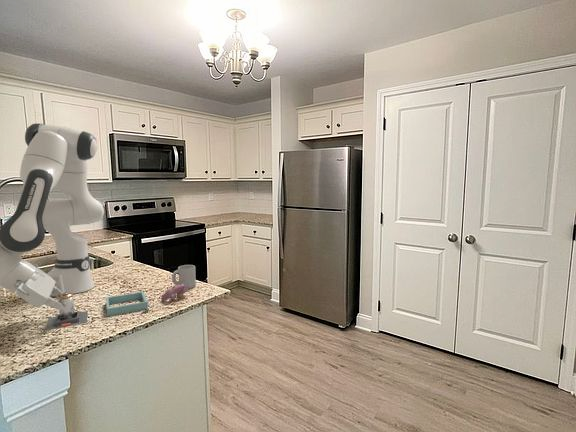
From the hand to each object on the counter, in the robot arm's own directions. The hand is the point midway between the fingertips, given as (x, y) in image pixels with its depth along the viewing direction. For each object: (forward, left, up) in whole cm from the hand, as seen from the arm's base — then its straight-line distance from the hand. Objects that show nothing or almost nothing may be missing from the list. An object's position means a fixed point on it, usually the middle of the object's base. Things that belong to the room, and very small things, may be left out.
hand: (62, 302), depth 102 cm
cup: (+19, +43, -8) cm, 47 cm away
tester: (+1, +1, -8) cm, 8 cm away
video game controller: (+23, +29, -8) cm, 38 cm away
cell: (+1, +1, -6) cm, 6 cm away
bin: (+12, +15, -8) cm, 20 cm away
